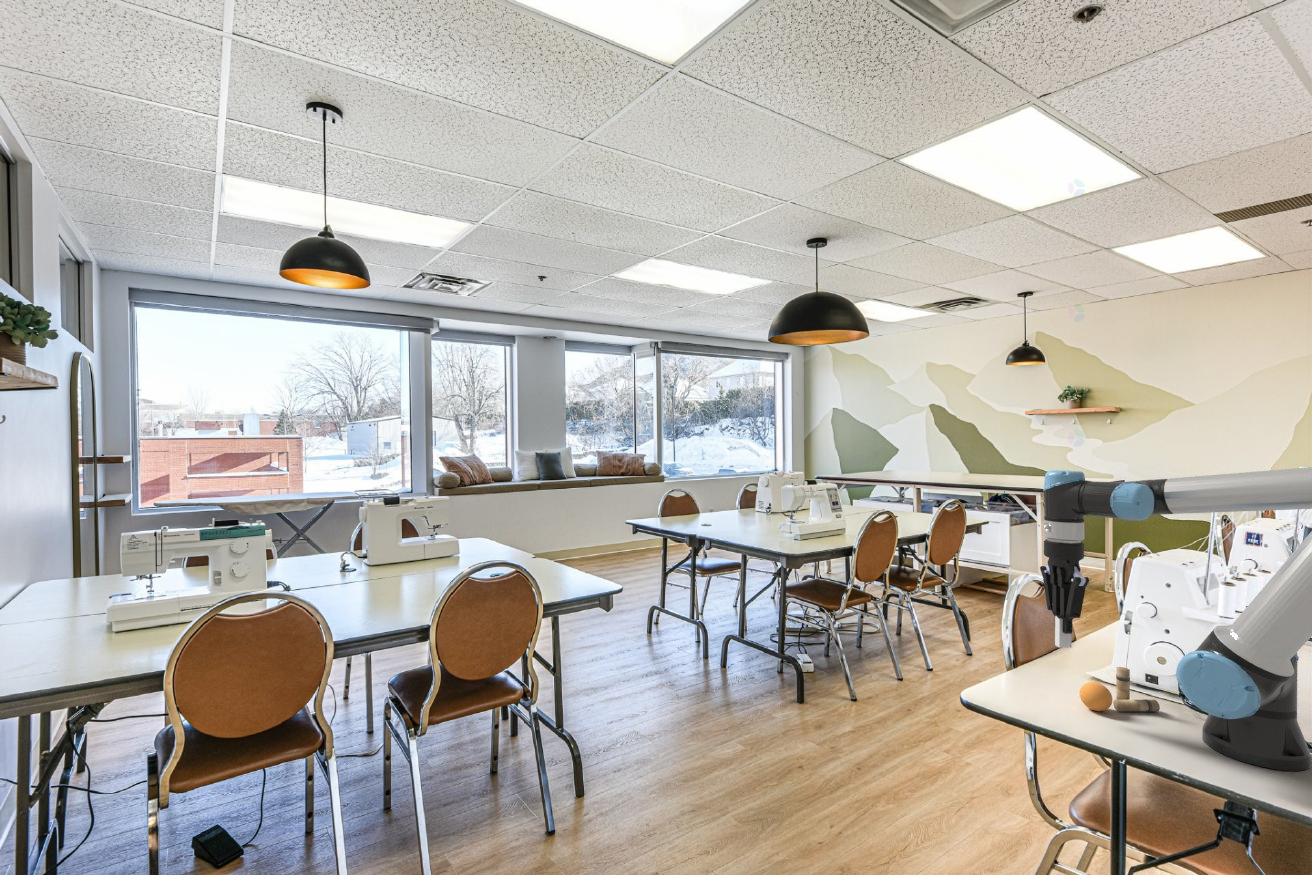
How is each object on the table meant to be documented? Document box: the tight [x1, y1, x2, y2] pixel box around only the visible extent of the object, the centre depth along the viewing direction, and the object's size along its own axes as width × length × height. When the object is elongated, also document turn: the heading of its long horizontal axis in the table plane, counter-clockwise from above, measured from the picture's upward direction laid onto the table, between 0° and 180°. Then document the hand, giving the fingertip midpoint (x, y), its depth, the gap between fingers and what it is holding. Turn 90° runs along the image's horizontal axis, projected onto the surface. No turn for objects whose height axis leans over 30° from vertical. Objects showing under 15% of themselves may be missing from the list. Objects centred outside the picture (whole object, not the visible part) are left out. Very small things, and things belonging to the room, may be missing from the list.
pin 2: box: [1112, 699, 1161, 713], centre depth 139 cm, size 2×2×8 cm
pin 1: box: [1115, 666, 1131, 700], centre depth 141 cm, size 2×2×8 cm
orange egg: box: [1079, 681, 1113, 712], centre depth 139 cm, size 6×6×6 cm
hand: (1063, 646), depth 138 cm, fingers closed
